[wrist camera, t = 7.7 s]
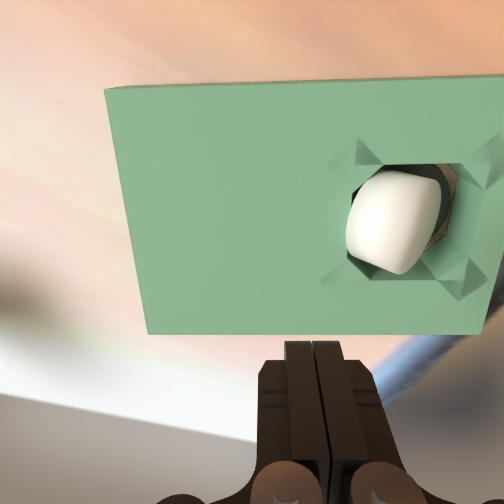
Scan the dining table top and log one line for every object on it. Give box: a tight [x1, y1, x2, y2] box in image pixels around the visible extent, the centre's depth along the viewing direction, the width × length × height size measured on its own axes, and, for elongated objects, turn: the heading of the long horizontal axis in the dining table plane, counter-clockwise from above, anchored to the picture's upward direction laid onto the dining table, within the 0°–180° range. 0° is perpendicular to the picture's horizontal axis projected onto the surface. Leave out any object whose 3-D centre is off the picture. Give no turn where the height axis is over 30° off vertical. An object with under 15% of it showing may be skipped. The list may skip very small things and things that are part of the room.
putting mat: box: [104, 74, 504, 335], centre depth 22 cm, size 20×14×3 cm
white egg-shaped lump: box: [346, 168, 441, 275], centre depth 20 cm, size 5×5×2 cm
